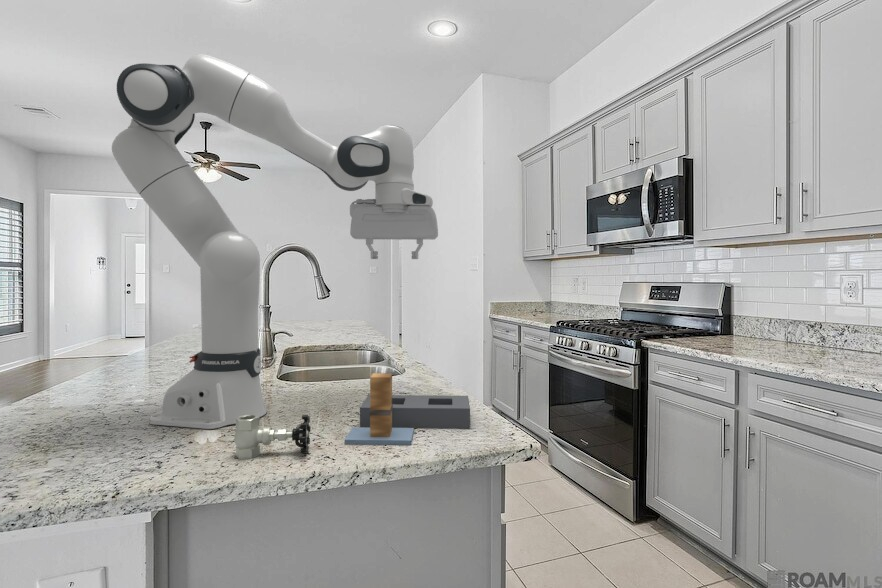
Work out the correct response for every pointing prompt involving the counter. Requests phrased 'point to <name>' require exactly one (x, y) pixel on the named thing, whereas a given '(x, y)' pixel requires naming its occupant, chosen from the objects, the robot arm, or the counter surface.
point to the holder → (424, 411)
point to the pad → (396, 438)
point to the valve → (266, 436)
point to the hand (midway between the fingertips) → (394, 259)
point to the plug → (381, 405)
